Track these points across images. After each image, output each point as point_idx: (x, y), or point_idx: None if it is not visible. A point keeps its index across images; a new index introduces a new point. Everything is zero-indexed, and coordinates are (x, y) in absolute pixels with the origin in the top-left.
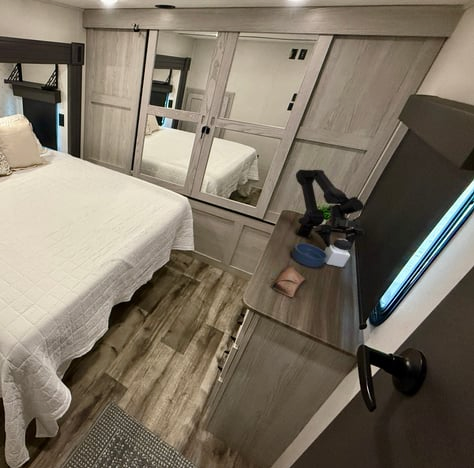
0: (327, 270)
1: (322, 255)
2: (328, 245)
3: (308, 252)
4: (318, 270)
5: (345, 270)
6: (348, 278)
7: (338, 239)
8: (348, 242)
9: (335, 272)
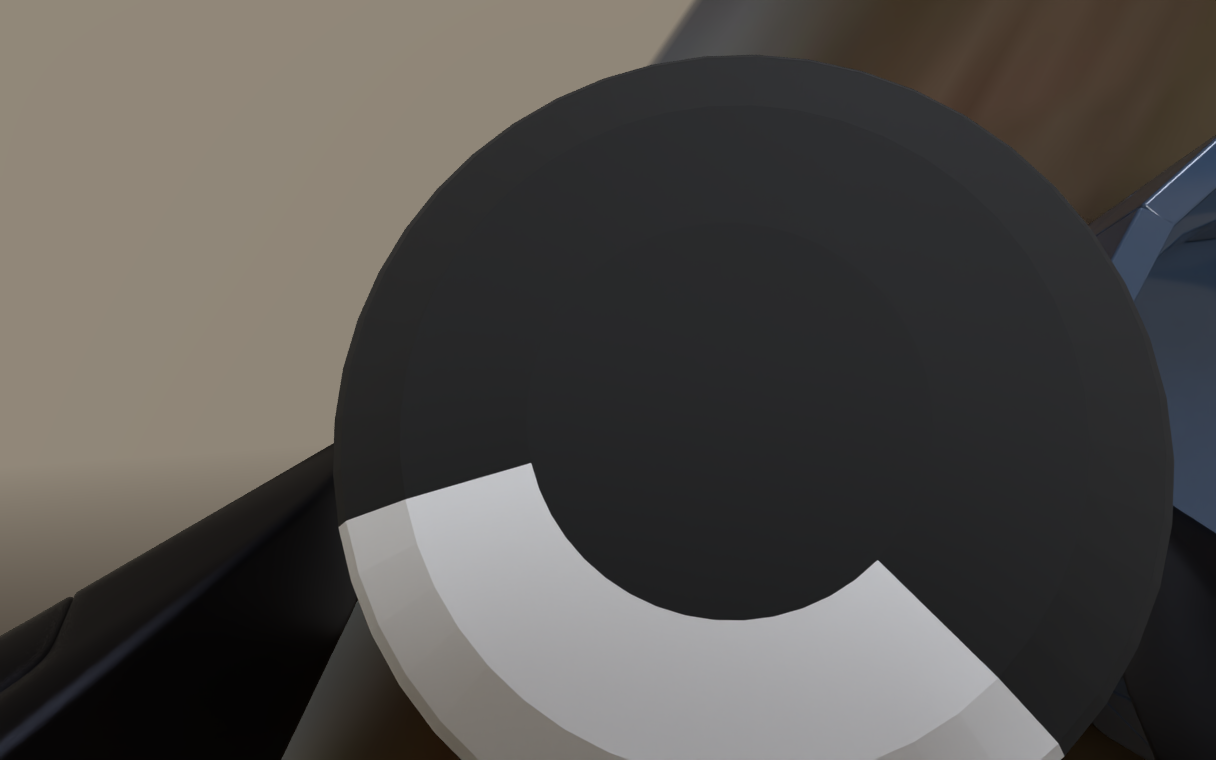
0: None
1: None
2: (1203, 537)
3: None
4: (1167, 125)
5: None
6: (702, 15)
7: (1048, 627)
8: (539, 262)
9: None
